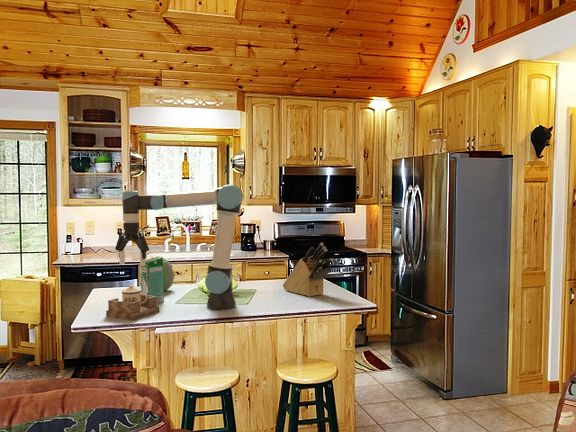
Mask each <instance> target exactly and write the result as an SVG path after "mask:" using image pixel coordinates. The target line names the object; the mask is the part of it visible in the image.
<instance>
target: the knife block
mask: <svg viewBox="0 0 576 432" xmlns="http://www.w3.org/2000/svg"><path fill="white" fill-rule="evenodd" d="M327 253H328V249H327V247H326V246H325V244H324V242H320V243H319V245H318V247H317V248H316V249H315V246H311V247H309V249H308V251H307V252H306V254H305V256H304V257H302V258H300V259H299V261H298V262H297V263H296V265H295V267H294V268H293V269H292V271H291V272H290V274H289V275H288V277H287V278H286V280H285V281H284V282H283V284H282V288H283V289H284V290H285V291H287V292H291V293H296V294H298V295H299V294H300V295H303V296H307V297H308V298H309V297H313V296H317V295H321V296H322V295H323V294H324V279H325V277H326V276H327V275H328V274H329V273H330V272H331V271H332V270H333V268H332V267H329V266H330V264H331V263H332V262H333V258H325V256H326V254H327ZM312 254H313V255H312Z"/></svg>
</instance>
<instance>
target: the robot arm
mask: <svg viewBox="0 0 576 432" xmlns="http://www.w3.org/2000/svg"><path fill="white" fill-rule="evenodd" d="M243 199H244V193H243V191H242V189H241V188H240V187H239V186H238V185H235V184H230V183H229V184H224V185H223V186H221V187H216V188H215V189H214V190H213V189H209V190H199V191H184V192H172V193H157V194H156V193H154V194H139V191H138V190H124V191H123V192H122V201H121V202H122V221H123V223H122V224H123V226H122V227H123V231H119V235H118V239H117V242H116V245H115V247H114V249H115V251H117V252H118V258H119V265H125V264H126V259H125V257H126V255H125V248H126V246H127V245H128V243H129V242H130V241H131V242H134V243H135V244H136V245H137V247H138V249H139V251H140V252H139V264H140V265H139V266H144V265H145V259H146V258H147V252H148V251H150V247H149V245H148V242H147V240H146V238H145V232H143V231H140V232H139V230H140V222H139V221H140V215H139V213H140V212H139V211H143V210H144V211H146V210H147V211H158V210H159V211H160V210H163V209H169V208H170V209H172V208H185V207H186V208H187V207H200V206H201V207H202V206H216V210H215V211H216V212H217V213H218V217H217V225H216V232H215V239H214V246H213V254H212V259H211V260H212V261H210V263H208V267H207V274H206V276H205V280H204V283H205V287H206V289H207V290H208V292H209V296H208V299H207V302H206V308H207V309H208V310H213V311H217V310H218V311H223V310H230V309H234V308H235V307H236V306H237V303H236V302H237V301H236V300H235V296H234V293H233V265H232V264H231V262H230V261H231V253H232V247H233V240H234V232H235V225H236V220H237V216H238V215H240V211H241V207H242V205H241V204H242V202H243Z"/></svg>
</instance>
